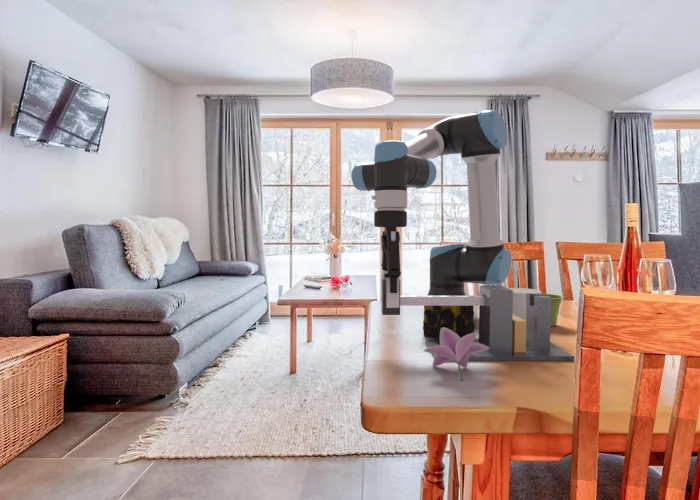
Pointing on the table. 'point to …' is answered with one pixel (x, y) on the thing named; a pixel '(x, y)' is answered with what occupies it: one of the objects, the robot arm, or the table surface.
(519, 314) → the candle holder
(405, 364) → the table surface
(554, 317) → the plant pot
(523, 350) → the tan rectangular block
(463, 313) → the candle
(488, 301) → the shaft stand
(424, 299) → the shaft
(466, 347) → the lily
